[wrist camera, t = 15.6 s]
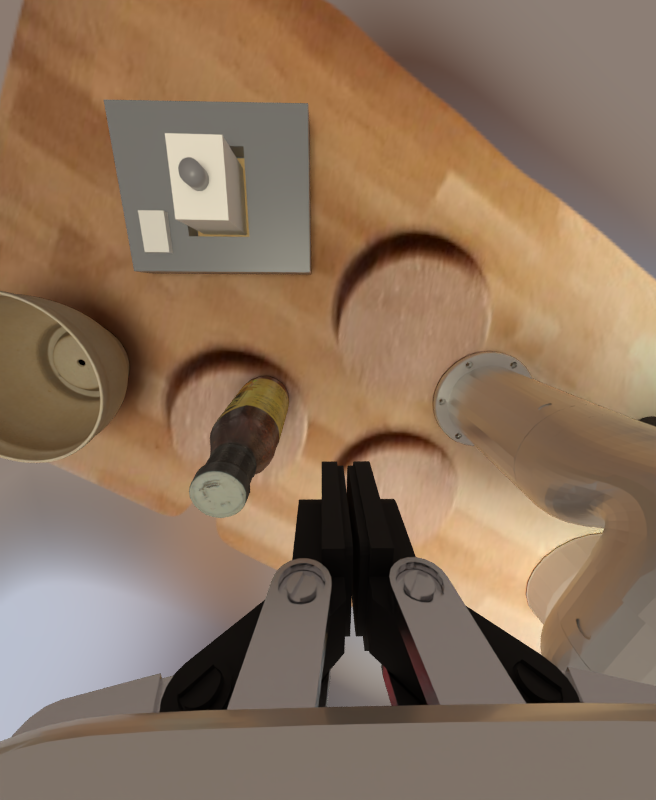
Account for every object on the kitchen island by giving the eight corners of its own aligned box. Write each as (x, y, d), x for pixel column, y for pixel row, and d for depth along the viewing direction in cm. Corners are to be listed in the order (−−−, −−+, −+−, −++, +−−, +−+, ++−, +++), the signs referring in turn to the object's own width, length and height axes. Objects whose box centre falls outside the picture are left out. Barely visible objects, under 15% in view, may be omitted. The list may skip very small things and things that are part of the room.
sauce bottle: (246, 368, 39) (176, 437, 20) (295, 381, 40) (271, 459, 21) (237, 416, 41) (165, 518, 22) (284, 427, 42) (253, 536, 23)
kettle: (502, 614, 54) (587, 763, 37) (565, 518, 47) (702, 643, 30) (604, 635, 56) (729, 786, 39) (676, 547, 50) (862, 679, 33)
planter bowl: (131, 442, 42) (69, 489, 32) (6, 380, 39) (-107, 411, 29) (180, 339, 38) (127, 356, 27) (44, 262, 35) (-72, 248, 24)
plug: (243, 168, 31) (215, 124, 23) (247, 235, 33) (222, 215, 25) (197, 167, 31) (154, 122, 23) (204, 234, 33) (166, 214, 25)
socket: (309, 123, 31) (307, 98, 27) (311, 274, 36) (309, 271, 32) (127, 120, 31) (97, 94, 27) (151, 273, 35) (129, 270, 31)
